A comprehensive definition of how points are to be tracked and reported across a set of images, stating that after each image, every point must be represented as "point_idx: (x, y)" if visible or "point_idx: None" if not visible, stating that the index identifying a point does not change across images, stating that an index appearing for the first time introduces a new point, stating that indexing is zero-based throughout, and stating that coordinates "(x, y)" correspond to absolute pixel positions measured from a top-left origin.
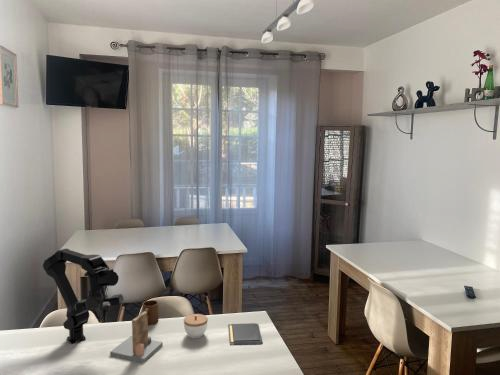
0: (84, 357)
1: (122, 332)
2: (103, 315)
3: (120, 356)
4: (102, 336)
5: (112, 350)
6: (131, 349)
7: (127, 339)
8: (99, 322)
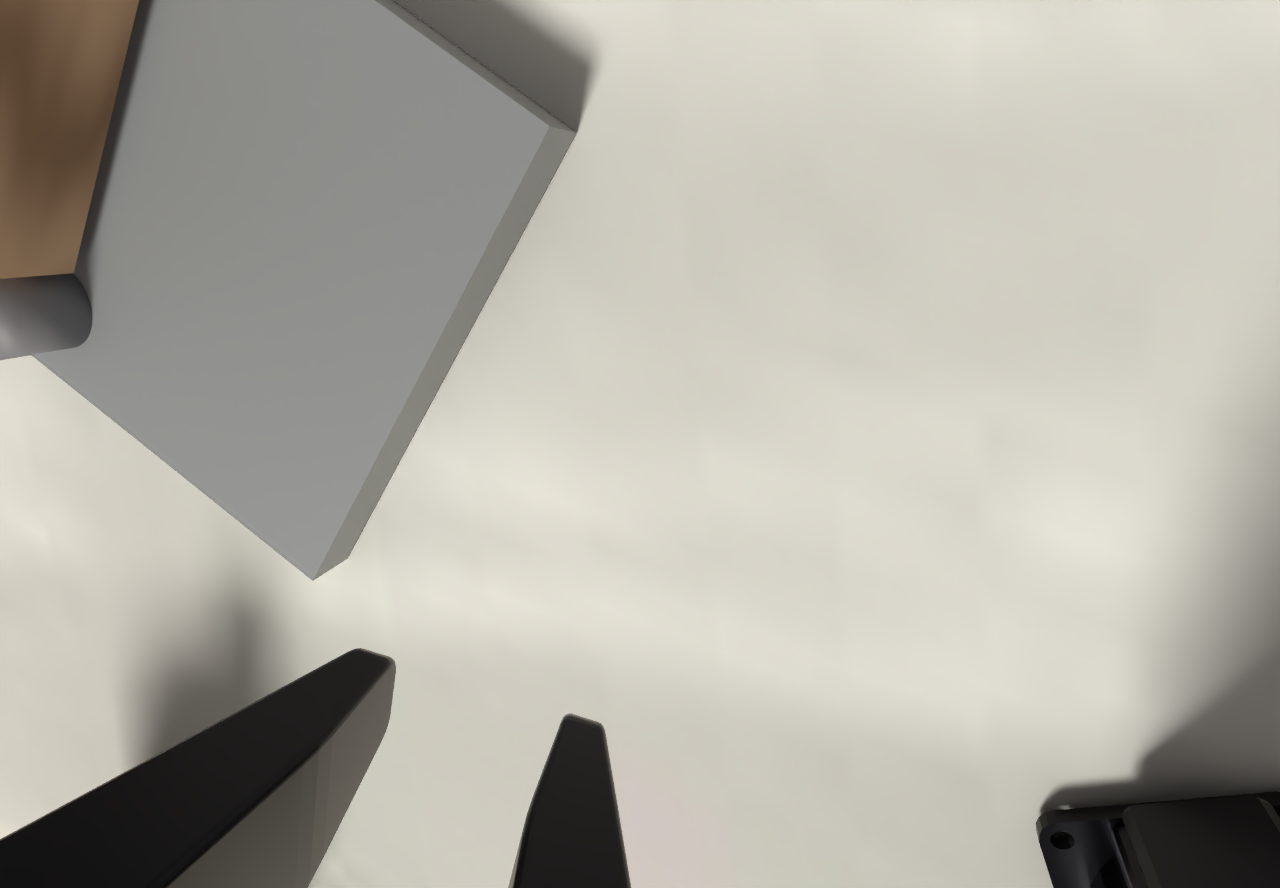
0: (1059, 153)
1: (484, 790)
2: (122, 885)
3: (396, 4)
4: (755, 801)
5: (515, 164)
6: (227, 126)
7: (342, 490)
8: (585, 718)
